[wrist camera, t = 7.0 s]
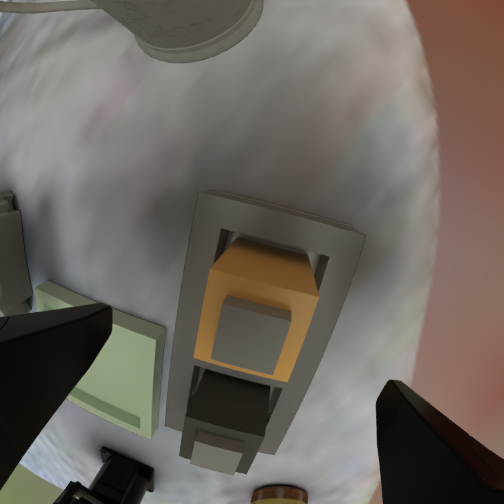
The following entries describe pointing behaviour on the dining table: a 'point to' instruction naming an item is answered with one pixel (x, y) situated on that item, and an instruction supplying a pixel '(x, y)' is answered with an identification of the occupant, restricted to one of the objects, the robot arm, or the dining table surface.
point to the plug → (257, 309)
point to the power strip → (278, 235)
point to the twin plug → (225, 423)
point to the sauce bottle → (279, 496)
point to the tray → (117, 366)
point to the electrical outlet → (12, 261)
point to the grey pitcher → (169, 23)
